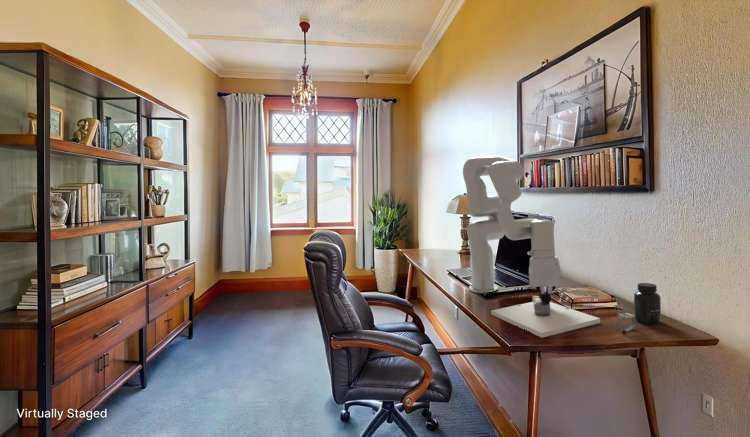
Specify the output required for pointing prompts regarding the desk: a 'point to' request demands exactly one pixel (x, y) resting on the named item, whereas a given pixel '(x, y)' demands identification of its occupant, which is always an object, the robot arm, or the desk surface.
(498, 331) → the desk surface
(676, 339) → the desk surface
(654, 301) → the supplement bottle
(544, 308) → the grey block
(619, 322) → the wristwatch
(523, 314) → the dial plate
